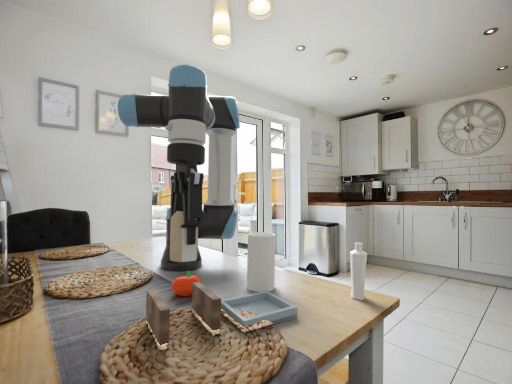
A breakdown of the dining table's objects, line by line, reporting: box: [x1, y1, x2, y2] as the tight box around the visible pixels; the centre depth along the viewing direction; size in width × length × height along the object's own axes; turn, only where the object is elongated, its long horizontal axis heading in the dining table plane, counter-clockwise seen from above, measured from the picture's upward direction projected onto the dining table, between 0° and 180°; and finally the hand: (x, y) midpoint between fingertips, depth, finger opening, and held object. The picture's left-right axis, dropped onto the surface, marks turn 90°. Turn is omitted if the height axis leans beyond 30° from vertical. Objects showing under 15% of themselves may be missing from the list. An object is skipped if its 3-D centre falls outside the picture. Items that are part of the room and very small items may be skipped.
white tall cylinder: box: [246, 231, 276, 293], centre depth 82 cm, size 8×8×16 cm
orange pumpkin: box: [171, 270, 202, 297], centre depth 75 cm, size 7×8×6 cm
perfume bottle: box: [349, 242, 368, 301], centre depth 75 cm, size 5×4×15 cm
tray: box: [221, 291, 298, 327], centre depth 63 cm, size 12×14×2 cm
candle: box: [170, 211, 199, 262], centre depth 56 cm, size 6×6×10 cm
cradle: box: [145, 282, 222, 345], centre depth 56 cm, size 12×12×7 cm
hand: (183, 257), depth 56 cm, fingers closed on candle, 5 cm apart
